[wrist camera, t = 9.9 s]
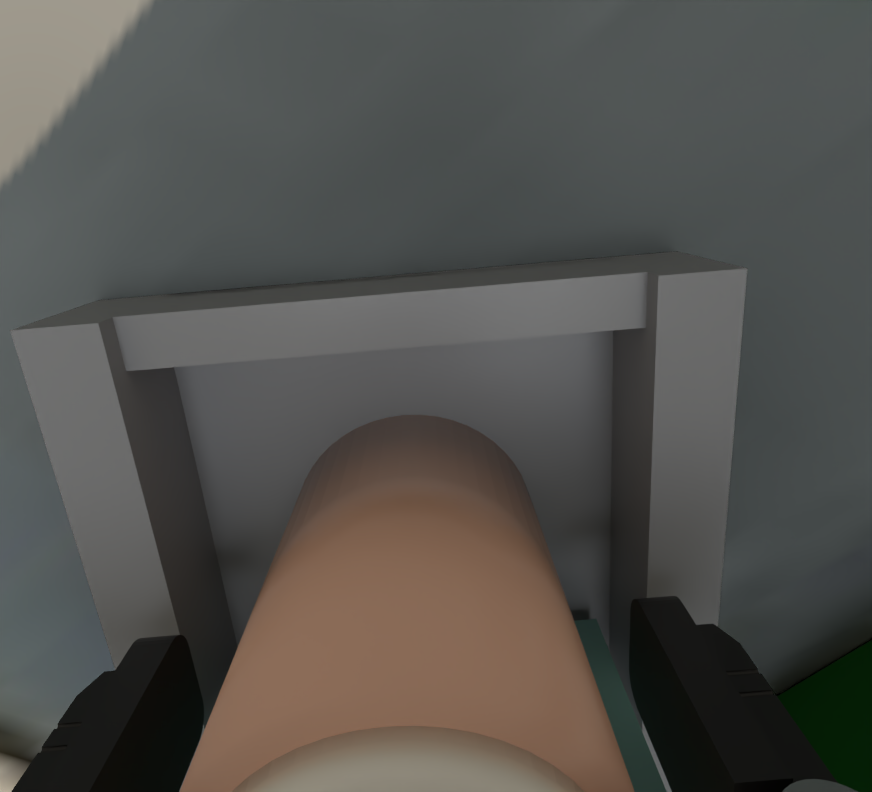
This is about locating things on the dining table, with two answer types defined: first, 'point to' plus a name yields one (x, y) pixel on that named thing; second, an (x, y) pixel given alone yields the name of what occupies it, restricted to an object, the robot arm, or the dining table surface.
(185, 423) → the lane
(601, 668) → the plate
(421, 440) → the jar
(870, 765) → the milk carton
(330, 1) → the dining table surface
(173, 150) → the dining table surface
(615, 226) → the dining table surface
